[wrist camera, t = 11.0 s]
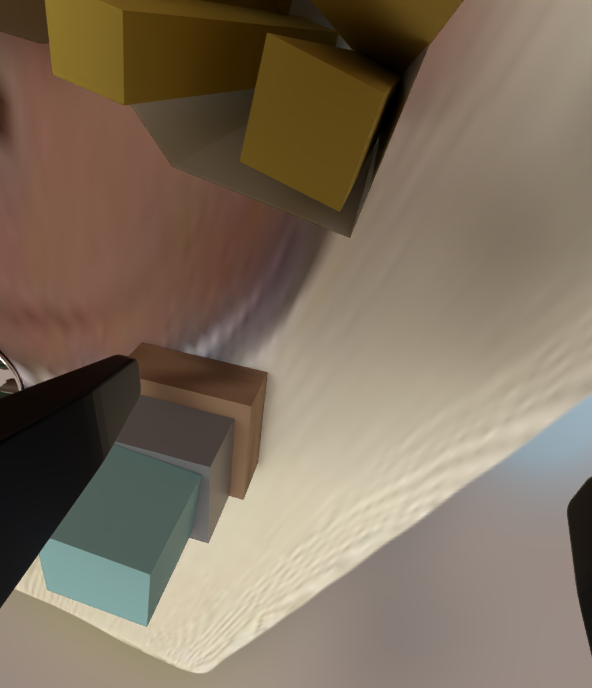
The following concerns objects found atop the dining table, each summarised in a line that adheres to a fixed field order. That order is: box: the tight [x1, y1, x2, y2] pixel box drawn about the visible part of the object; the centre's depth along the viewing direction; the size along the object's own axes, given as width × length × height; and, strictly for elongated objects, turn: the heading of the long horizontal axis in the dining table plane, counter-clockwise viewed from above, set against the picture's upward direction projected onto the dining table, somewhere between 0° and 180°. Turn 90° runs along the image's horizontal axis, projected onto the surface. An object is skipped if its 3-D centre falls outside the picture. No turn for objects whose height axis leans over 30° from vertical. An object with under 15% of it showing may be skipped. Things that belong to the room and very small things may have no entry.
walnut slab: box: [128, 343, 267, 500], centre depth 26 cm, size 8×8×4 cm
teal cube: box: [39, 445, 201, 627], centre depth 20 cm, size 5×5×5 cm
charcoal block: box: [114, 394, 235, 543], centre depth 24 cm, size 6×6×4 cm
